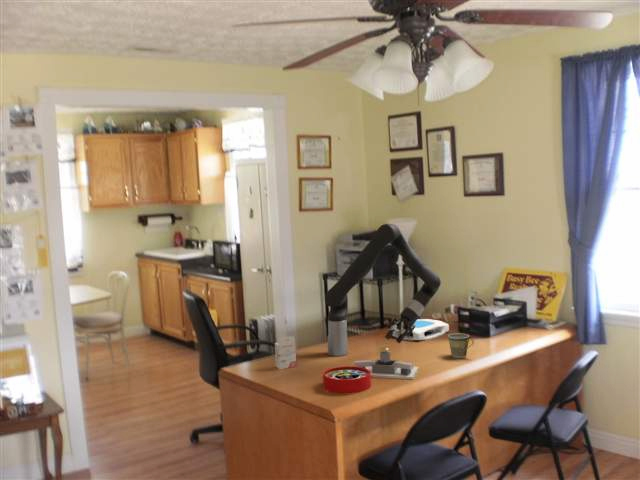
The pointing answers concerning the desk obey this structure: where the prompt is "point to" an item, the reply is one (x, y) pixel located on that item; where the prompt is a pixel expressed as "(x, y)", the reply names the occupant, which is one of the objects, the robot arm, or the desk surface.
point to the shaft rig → (389, 369)
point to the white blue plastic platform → (425, 329)
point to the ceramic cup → (459, 344)
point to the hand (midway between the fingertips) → (392, 340)
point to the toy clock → (347, 379)
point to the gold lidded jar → (384, 356)
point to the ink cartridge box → (285, 353)
